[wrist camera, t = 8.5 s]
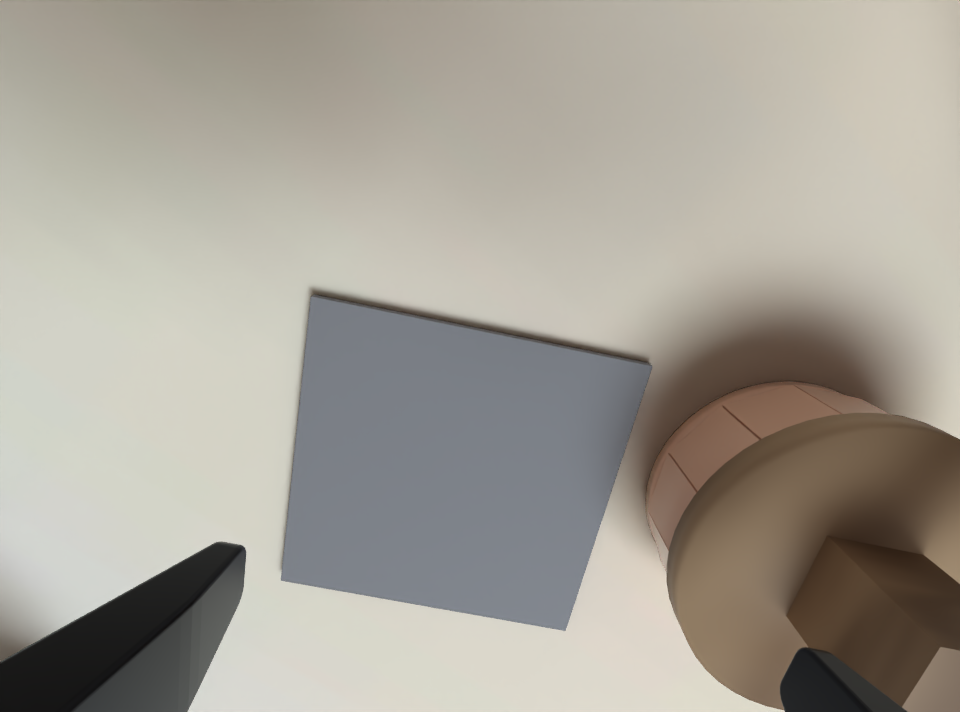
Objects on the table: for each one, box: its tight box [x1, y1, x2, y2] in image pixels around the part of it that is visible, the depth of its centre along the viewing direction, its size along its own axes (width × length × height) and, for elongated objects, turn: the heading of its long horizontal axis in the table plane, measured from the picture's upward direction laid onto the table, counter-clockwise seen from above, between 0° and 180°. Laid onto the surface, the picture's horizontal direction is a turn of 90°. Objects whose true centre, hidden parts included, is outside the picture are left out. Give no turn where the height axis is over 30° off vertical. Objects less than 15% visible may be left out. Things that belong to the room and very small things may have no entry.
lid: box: [667, 413, 960, 712], centre depth 14 cm, size 11×11×5 cm
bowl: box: [646, 382, 891, 572], centre depth 19 cm, size 10×10×4 cm
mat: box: [281, 295, 652, 631], centre depth 21 cm, size 13×13×1 cm
